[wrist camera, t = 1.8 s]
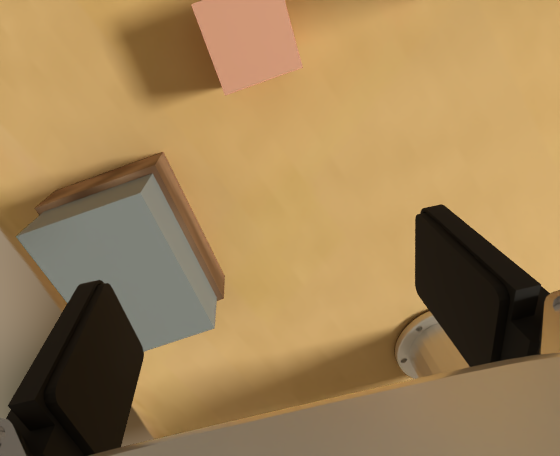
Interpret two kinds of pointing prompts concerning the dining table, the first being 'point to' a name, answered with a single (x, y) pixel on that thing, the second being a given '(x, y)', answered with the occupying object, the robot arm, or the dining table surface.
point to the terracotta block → (247, 40)
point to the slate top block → (127, 259)
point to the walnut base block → (173, 196)
